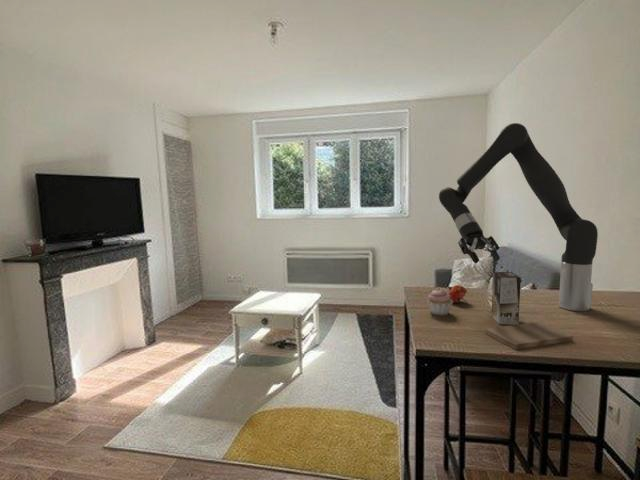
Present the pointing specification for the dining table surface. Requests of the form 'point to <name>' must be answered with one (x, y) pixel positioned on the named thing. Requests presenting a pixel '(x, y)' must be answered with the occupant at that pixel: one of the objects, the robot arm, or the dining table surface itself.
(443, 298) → the cupcake
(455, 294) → the pomegranate
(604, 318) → the dining table surface
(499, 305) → the coffee box
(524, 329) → the walnut board
